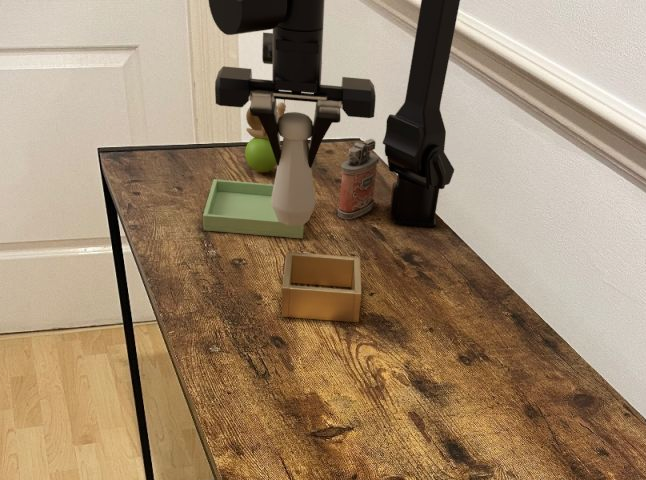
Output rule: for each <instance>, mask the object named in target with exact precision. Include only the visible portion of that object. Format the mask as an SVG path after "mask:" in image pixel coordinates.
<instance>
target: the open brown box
mask: <svg viewBox="0 0 646 480" xmlns="http://www.w3.org/2000/svg"><path fill="white" fill-rule="evenodd" d="M284 259H285V260H284V269H283V278H282V287H281V290H282V291H281V317H282V318H292V319H293V318H294V319H307V320H320V321H331V322H332V321H334V322H345V323H359V322H360V313H361V304H362V275H361V273H362V272H361V257H360V256H359V257H357V256H344V255H335V254H334V255H331V254H322V253H321V254H320V253H308V252H297V251H286V252H285V258H284ZM293 284H301V285H293ZM303 285H306V286H303ZM307 285H314V286H307ZM317 286H325V287H317ZM326 286H327V287H326ZM328 286H329V287H330V288H329V287H328ZM331 287H337V288H331ZM338 287H339V288H338ZM342 288H349V289H342ZM350 288H351V289H350Z"/></svg>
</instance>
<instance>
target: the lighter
mask: <svg viewBox="0 0 646 480" xmlns="http://www.w3.org/2000/svg"><path fill="white" fill-rule="evenodd" d="M375 140H376V139H373V138H369V139H366V140H365V141H362V143H361V142H358V141H356V142H355V143H354V144H353V146H352V147H351V148H349V149H348V159H346V160H345V161H343V162H342V164H340V165H341V167H340V171H341V183H340V196H339V207H338V208H337V216H338V217H339V218H341V219H344V220H352V219H355V218H358V217H361V216H363V215H365V214H367V213H368V212H370V211H371V210H372V208H374V206H375V198H374V195H375V185H376V177H377V167H378V164H379V161H380V160H379V159H380V157H379V155H377V154H376V153H371V152H372V151H374V150H376V144H377V143H376V141H375Z"/></svg>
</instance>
